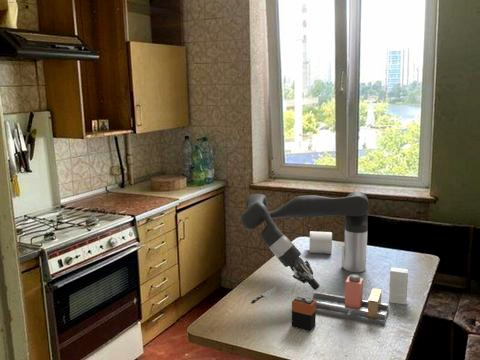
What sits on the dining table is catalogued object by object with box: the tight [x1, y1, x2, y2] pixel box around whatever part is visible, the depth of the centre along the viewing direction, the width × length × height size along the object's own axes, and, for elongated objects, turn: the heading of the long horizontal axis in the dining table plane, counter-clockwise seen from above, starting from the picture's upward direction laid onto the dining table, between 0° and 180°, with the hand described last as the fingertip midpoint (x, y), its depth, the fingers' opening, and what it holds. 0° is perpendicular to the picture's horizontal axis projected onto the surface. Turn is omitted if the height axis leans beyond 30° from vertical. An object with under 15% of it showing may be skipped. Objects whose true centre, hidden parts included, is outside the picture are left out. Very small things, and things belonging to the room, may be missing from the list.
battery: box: [291, 295, 317, 332], centre depth 150 cm, size 4×7×10 cm, turn 60°
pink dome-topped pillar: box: [344, 274, 364, 309], centre depth 159 cm, size 5×5×11 cm
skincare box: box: [388, 266, 409, 305], centre depth 167 cm, size 6×4×12 cm
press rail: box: [311, 288, 390, 326], centre depth 161 cm, size 26×12×8 cm, turn 66°
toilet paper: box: [309, 230, 333, 255], centre depth 218 cm, size 10×10×10 cm
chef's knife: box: [250, 286, 277, 304], centre depth 175 cm, size 19×1×3 cm
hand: (317, 288), depth 165 cm, fingers closed
